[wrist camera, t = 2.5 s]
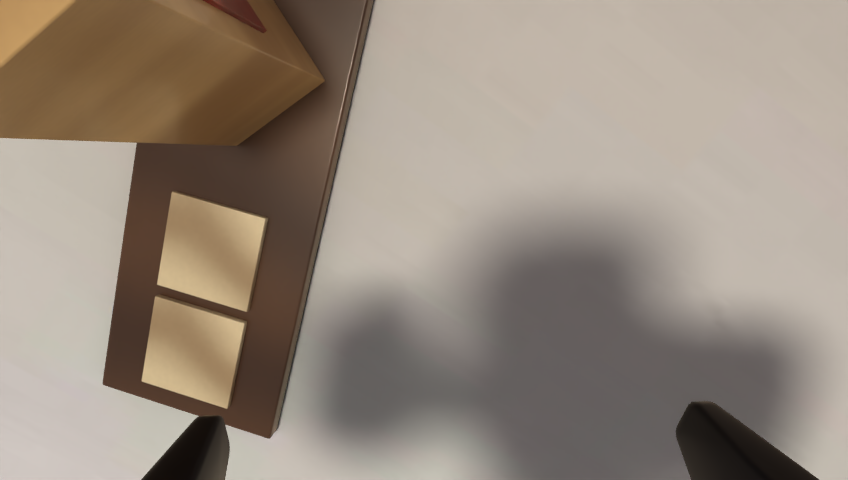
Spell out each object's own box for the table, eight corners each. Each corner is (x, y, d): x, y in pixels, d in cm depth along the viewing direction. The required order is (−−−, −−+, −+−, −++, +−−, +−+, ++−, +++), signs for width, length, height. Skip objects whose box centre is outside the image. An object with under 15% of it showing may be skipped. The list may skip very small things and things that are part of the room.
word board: (277, 429, 22) (266, 443, 21) (114, 377, 23) (96, 388, 22) (383, -43, 18) (377, -55, 17) (183, -91, 19) (165, -107, 18)
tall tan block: (328, 78, 18) (106, -28, 8) (236, 146, 19) (-79, 136, 8) (261, -25, 18) (-70, -289, 7) (171, 48, 19) (-244, -91, 8)
